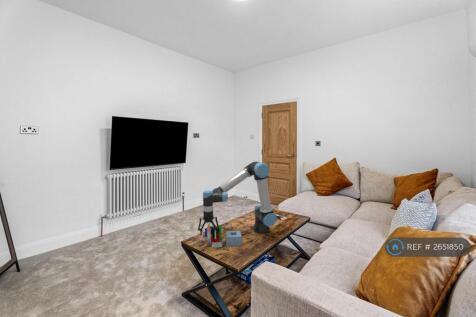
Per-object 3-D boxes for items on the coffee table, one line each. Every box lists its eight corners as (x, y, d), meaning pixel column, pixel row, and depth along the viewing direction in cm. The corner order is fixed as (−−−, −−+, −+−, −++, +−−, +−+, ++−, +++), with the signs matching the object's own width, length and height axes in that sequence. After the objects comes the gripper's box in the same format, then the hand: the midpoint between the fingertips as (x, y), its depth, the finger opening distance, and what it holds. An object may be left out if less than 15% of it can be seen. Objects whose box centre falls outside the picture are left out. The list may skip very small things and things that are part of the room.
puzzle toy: (205, 240, 182) (204, 228, 182) (211, 236, 191) (211, 224, 191) (215, 242, 178) (215, 230, 178) (221, 237, 187) (221, 226, 187)
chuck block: (240, 238, 185) (240, 230, 184) (241, 245, 173) (241, 236, 173) (221, 239, 184) (221, 231, 183) (221, 246, 172) (221, 237, 171)
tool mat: (221, 242, 179) (221, 241, 179) (222, 247, 171) (221, 246, 171) (211, 242, 179) (211, 242, 179) (211, 247, 171) (211, 247, 171)
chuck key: (211, 243, 178) (210, 223, 177) (210, 248, 170) (210, 227, 169) (207, 243, 178) (206, 224, 176) (207, 248, 170) (206, 228, 169)
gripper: (222, 208, 176) (222, 235, 178) (194, 209, 174) (195, 237, 176) (222, 211, 169) (223, 239, 171) (193, 212, 167) (194, 241, 169)
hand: (209, 238), depth 174 cm, fingers open, 9 cm apart
